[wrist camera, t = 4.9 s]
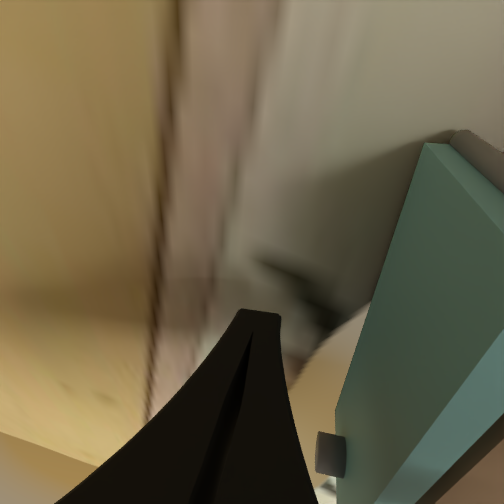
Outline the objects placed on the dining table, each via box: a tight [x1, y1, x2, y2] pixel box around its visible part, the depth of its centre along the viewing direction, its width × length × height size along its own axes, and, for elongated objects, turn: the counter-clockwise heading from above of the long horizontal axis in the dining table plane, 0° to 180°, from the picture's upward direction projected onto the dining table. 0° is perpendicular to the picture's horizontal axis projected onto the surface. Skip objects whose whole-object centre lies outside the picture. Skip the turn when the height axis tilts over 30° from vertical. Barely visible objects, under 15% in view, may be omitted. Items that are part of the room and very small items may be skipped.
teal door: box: [315, 130, 504, 504], centre depth 9 cm, size 2×13×5 cm, turn 178°
